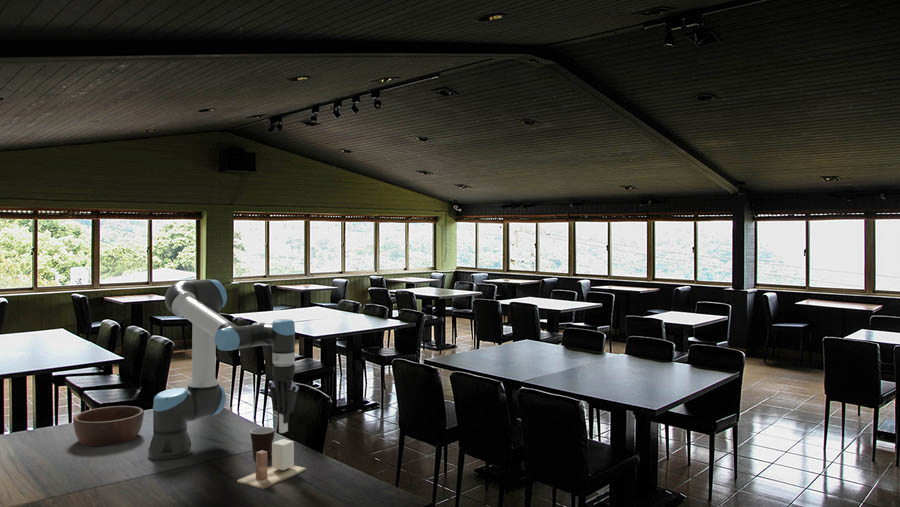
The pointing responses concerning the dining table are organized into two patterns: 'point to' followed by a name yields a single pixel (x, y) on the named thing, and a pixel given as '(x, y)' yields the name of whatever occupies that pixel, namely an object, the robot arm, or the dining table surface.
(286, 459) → the upright off-white block
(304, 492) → the dining table surface
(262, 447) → the coffee mug
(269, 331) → the robot arm
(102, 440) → the wooden bowl
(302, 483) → the dining table surface
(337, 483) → the dining table surface
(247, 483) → the stand
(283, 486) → the dining table surface
